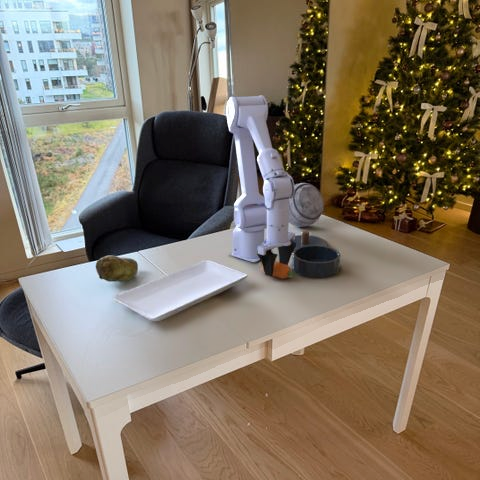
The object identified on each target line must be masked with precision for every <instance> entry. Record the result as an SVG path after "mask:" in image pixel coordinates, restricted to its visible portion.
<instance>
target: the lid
mask: <svg viewBox="0 0 480 480" xmlns="http://www.w3.org/2000/svg"><path fill="white" fill-rule="evenodd" d="M292 242H295V243H296V247H295V248H294V250H295V249H297V248H299V247H303V246H308V245H319V246H326V247H328V241H327V240H326V239H324V238H322V237H320V236H315V235H310V231H308V230H303V231H301V234H298V235H297V234H296V235H295V240H292ZM294 250H293V252H294Z"/></svg>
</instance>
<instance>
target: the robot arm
mask: <svg viewBox="0 0 480 480" xmlns="http://www.w3.org/2000/svg"><path fill="white" fill-rule="evenodd" d="M225 113H226V120H227V126H228V131H229V132H230V133H231V134H233V137H234V143H235V151H236V159H237V166H238V174H239V175H238V176H239V182H240V190H241V196H240V197H239V198H238V199H237V200H236V201H235V202H234V204H233V220H234V224H235V227H234V229H233V231H232V238H231V239H232V253H231V254H230V255H231V256H232V257H235V258H238V259H242V260H244V261H247V262H251V263H257V262H259V261H260V262H261V265H263V268H264V271H263V273H264V276H267V277H270V278H271V277H273V276H272V275H273V270H274V263H275V261H277V257H278V262H279V263H283V264H286V265H288V266H289V263H290V260H291V257H292V255H293V252H294V251H293V250H294V248H295V247H296V243H295V242H292V240H295V236H296V232H292V231H289V224H290V223H289V199H290V198H292V197H293V195H294V190H295V187H294V185H295V182H294V179H293V177H292V176H291V175H290V174H289V172H288V171H286V170H285V168H284V165H283V162H282V159H281V156H280V154H279V151H278V150H277V149H275V148H273V146H272V141H271V136H270V133H269V128H268V125H267V120H268V116H269V104H268V100H267V98H266V97H265V96H264V95H263V94H261V95H253V96H252V95H251V96H236V97H235V96H230V97H229V99H228V100H227V104H226V109H225ZM254 144H255V147H256V149H257V152H258V156H257V158H256V155H255V147H254ZM256 161H257V164H258V167H259V170H260V173H261V177H262V179H263V186H262V192H263V195H262V194H261V193H260V189H259V182H258V181H259V180H258V173H257V165H256ZM254 204H255V205H254ZM265 229H266V230H265ZM265 231H266V238H265ZM276 248H277V251H278V254H277V253H274V252H273V251H272V250H274V249H276Z"/></svg>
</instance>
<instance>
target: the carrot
mask: <svg viewBox="0 0 480 480" xmlns="http://www.w3.org/2000/svg"><path fill="white" fill-rule="evenodd" d="M261 265H262V264H261ZM261 268H262V271H263V272H264V268H263V265H262V266H261ZM294 275H295V272H294V270H291V267H290V266H289V264H288V265H286V264H283V263H279V261H277V260H275V263H274V270H273V275H272V276H271V277H276V278H279V279H281V280H282V279H284V280H285V279H288V278H289V277H291V278H293V277H294Z"/></svg>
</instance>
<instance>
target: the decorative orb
mask: <svg viewBox="0 0 480 480" xmlns="http://www.w3.org/2000/svg"><path fill="white" fill-rule="evenodd" d="M294 187H295V190H294V195H293V197H292V198H290V199H289V223H288V224H290V225H292V226H294V227H299V228H304V227H309V226H311V225H313V224H315V223H316V222H317V221H318V220H319V219H320V218H321V217H322V214H323V212H324V208H325V203H324V198H323V195H322V194H321V192H320V191H319V189H318V188H317V187H316V186H314V185H313V184H311V183H308V182H307V183H306V182H301V183H296V184H294Z"/></svg>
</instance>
